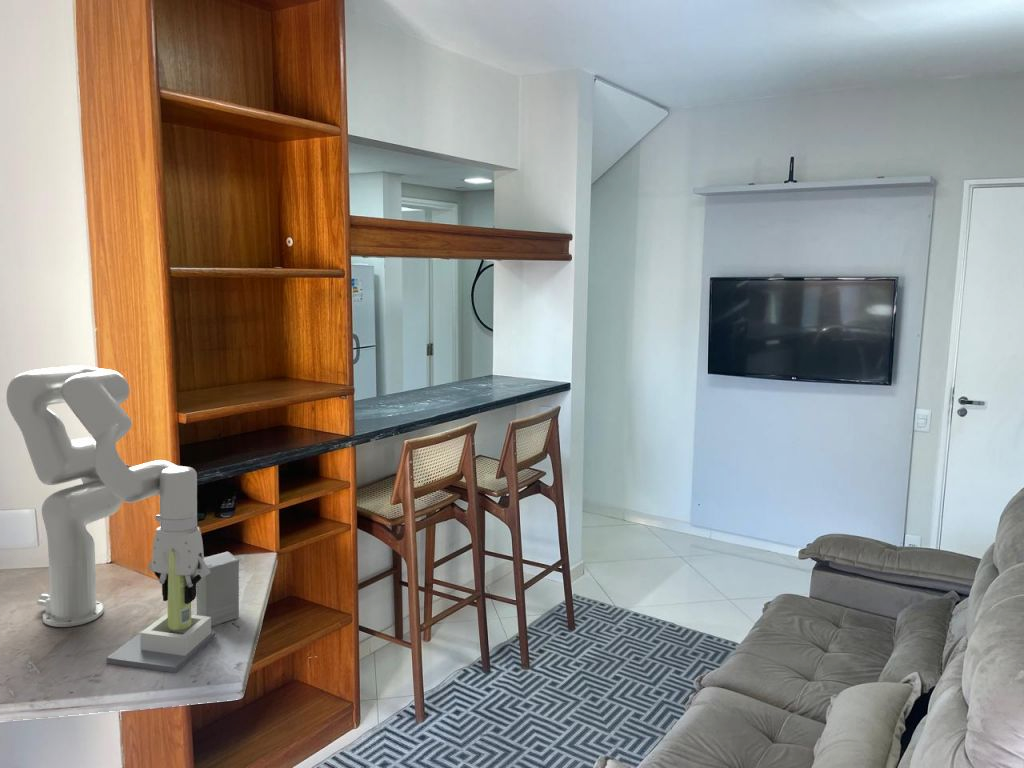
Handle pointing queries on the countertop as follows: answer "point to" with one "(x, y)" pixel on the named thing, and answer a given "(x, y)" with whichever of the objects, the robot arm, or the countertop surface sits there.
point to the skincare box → (219, 589)
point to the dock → (164, 645)
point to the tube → (177, 599)
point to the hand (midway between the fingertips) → (179, 599)
